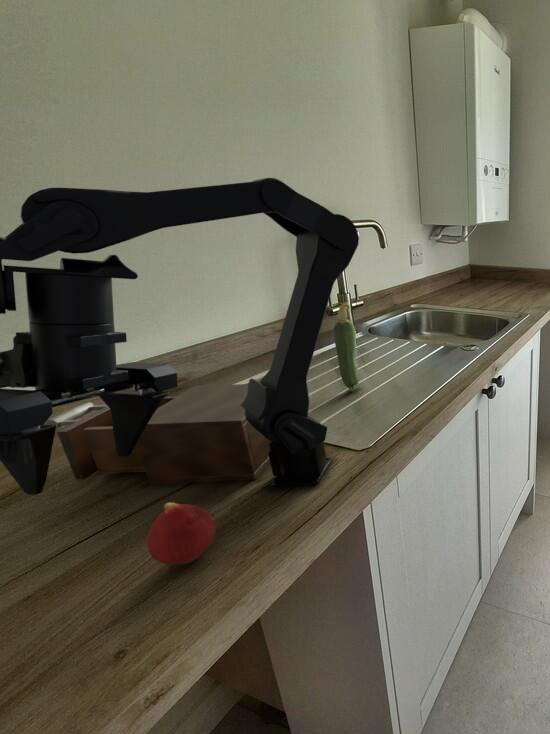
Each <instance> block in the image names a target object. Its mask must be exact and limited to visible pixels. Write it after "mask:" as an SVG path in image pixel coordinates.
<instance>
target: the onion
mask: <svg viewBox="0 0 550 734" xmlns="http://www.w3.org/2000/svg"><path fill="white" fill-rule="evenodd" d="M163 509H164V511H163V512H161V513H160V514H159V515H158V517H156V519H155V520H154V521H153V522H152V524H151V526H150V528H149V531H148V534H147V536H146V548H147V550H148V553H149V554H150V556H151V558H152V559H154V560H156V561H158V562H160V563H162V564H165V565H166V564H167V565H189V564H191V563H192V562H195V560H197V559H198V558H199V557H200V556H203V554H204V553H205V552H206V551H207V549H208V548H209V547H210V546H211V544H212V541H213V538H214V536H215V533H216V523H215V521H214V519H213V517H212V515H211V514H210V513H209V511H207V510H206V509H205V508H203V507H201V506H199V505H195V504H187V503H186V504H185V503H182V504H181V503H176V502H174V501H171V502H170V501H169V502H167V503H165V504H163Z"/></svg>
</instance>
